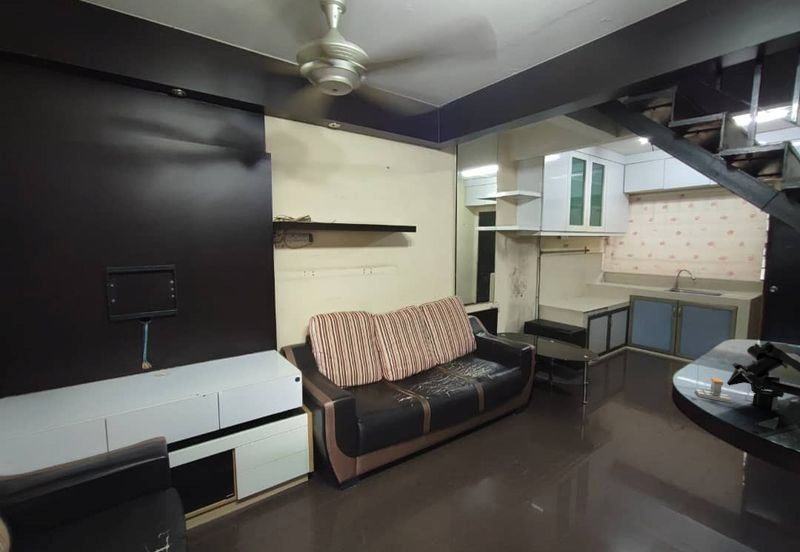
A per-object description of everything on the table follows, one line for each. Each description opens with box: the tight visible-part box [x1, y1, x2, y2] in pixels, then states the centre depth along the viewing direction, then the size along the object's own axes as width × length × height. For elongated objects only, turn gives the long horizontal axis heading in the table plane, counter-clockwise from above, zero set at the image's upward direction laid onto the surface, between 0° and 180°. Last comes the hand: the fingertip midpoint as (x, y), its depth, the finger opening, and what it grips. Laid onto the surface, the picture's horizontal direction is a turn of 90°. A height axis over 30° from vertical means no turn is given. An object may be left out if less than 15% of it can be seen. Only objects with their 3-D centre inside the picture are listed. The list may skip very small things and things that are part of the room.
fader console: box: [695, 388, 733, 403], centre depth 163 cm, size 12×6×2 cm, turn 61°
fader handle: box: [710, 377, 724, 396], centre depth 163 cm, size 3×5×7 cm, turn 151°
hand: (727, 384), depth 160 cm, fingers closed
